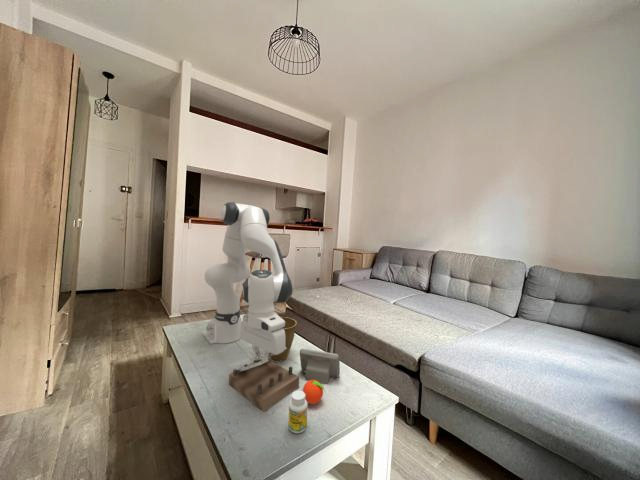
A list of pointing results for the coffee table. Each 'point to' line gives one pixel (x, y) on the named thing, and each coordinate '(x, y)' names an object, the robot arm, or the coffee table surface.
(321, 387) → the clementine
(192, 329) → the coffee table surface
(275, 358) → the plant pot
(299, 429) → the supplement bottle
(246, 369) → the near strap
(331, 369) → the digital clock
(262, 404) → the strap base
